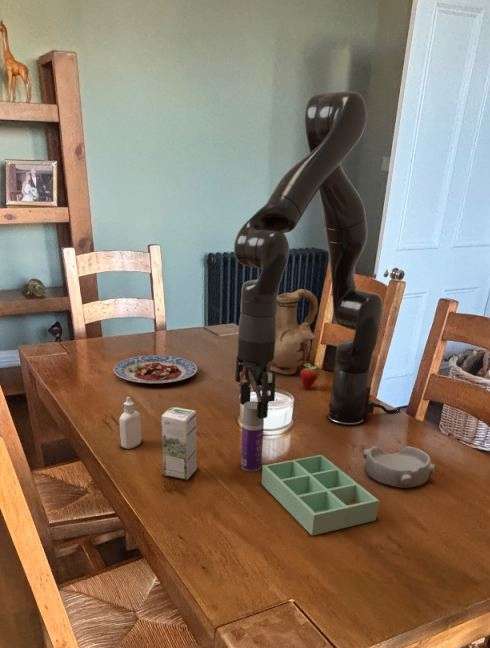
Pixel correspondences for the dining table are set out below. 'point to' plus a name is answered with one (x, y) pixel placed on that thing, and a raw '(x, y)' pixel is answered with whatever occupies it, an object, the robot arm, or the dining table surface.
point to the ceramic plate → (155, 369)
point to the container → (251, 438)
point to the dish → (399, 466)
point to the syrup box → (179, 442)
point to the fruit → (308, 376)
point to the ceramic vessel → (292, 332)
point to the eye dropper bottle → (130, 426)
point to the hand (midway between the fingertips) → (253, 410)
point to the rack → (319, 494)
